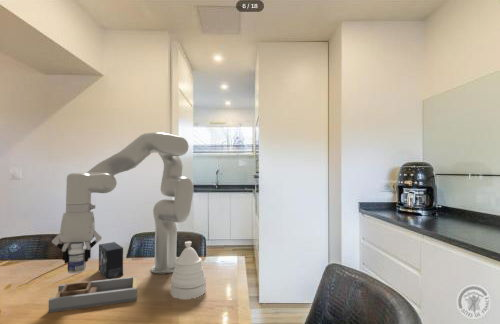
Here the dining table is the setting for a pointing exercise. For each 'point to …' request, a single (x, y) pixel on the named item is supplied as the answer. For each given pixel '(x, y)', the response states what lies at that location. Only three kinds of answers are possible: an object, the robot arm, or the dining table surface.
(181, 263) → the honey pot
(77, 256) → the pill bottle
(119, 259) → the small box
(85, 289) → the crate
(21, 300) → the dining table surface
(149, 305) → the dining table surface
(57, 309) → the bay
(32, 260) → the dining table surface
